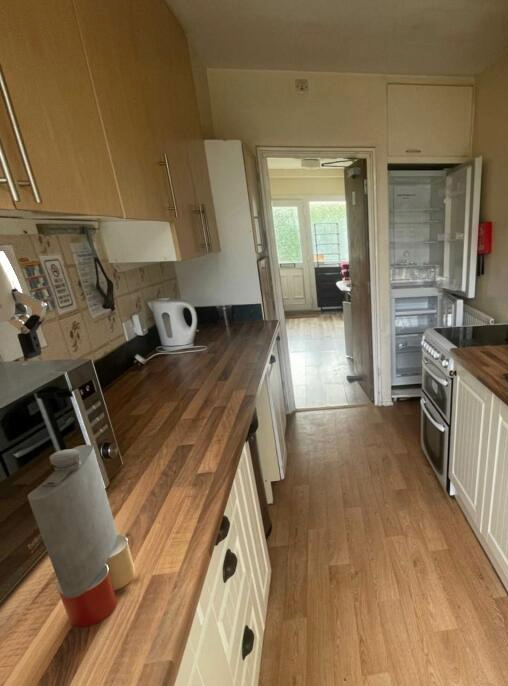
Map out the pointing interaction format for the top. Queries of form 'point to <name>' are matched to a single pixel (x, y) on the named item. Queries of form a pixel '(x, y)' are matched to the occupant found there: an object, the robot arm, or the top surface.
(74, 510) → the hip flask
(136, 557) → the top surface
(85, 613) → the can red
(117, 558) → the can cream
